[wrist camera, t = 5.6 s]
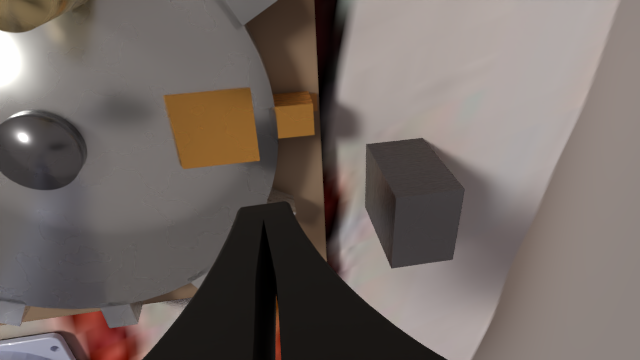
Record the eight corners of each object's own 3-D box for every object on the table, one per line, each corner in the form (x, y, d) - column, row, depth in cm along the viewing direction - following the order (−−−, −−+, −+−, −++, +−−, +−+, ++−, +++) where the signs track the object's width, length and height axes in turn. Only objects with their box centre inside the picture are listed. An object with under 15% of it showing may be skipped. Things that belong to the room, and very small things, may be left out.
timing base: (324, 265, 25) (327, 278, 24) (-67, 321, 23) (-80, 338, 22) (299, -226, 14) (303, -236, 13) (-501, -214, 11) (-567, -226, 10)
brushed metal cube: (415, 200, 24) (452, 259, 20) (365, 206, 24) (391, 268, 19) (421, 137, 22) (464, 189, 18) (366, 144, 21) (396, 198, 17)
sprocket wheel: (127, 355, 25) (101, 453, 20) (-387, 138, 15) (-668, 235, 10) (399, 123, 20) (447, 184, 15) (-121, -457, 10) (-460, -810, 5)
